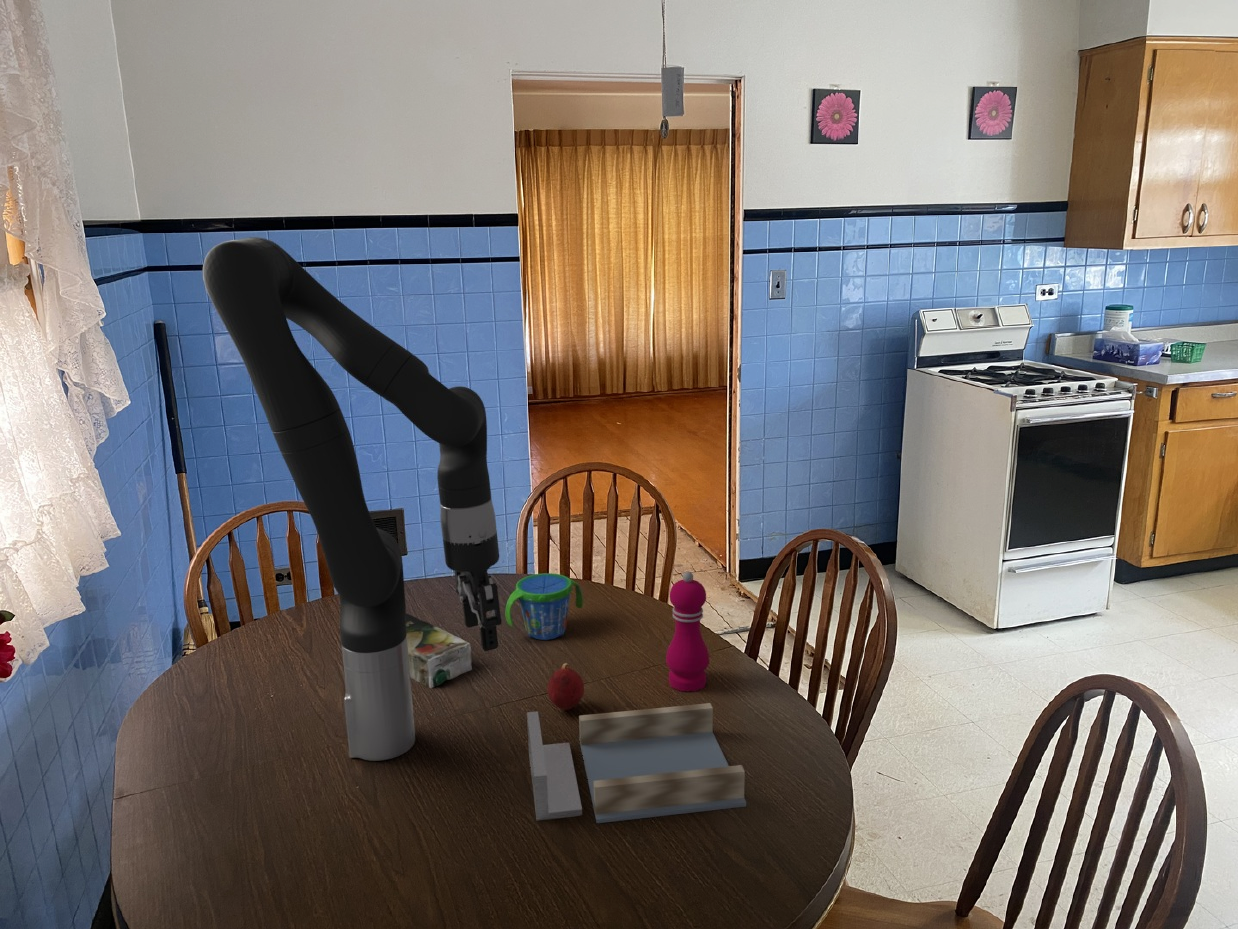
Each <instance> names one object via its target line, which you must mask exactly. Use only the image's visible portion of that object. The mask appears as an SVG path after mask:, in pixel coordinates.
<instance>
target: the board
mask: <svg viewBox="0 0 1238 929" xmlns="http://www.w3.org/2000/svg"><path fill="white" fill-rule="evenodd" d="M578 740H579V741H580V735H579V736H578ZM579 745H580V749H581V750H580V751H581V756H582V755H583V756H582V759H583V760H584V761H583V760H582V761H583V764H584V765H583V766H584V769H585V773H586V779H588V780H587V785H588V788H589V793H590V799H591V802H592V808H593V812H594V816H595V821H596V822H595V823H596V824H603V823H610V822H620V821H629V820H638V819H647V818H653V817H655V818H656V817H665V816H672V815H681V814H691V813H700V812H709V811H715V810H716V811H717V810H727V809H732V808H733V809H734V808H743V807H747V801H746V799H745V797H744V798H738V799H729V800H720V801H711V802H702V803H694V804H685V805H676V806H667V807H658V808H649V809H640V810H631V811H623V812H614V813H605V814H595V810H594V785H593V781H597V780H606V779H615V778H625V777H634V776H643V775H653V774H662V773H671V772H681V771H690V770H699V769H709V768H718V767H727V766H730V764H729V763H728V762H727V759H726V757H725V755H724V753H723V751H722V749H721V747H720V745H719V743H718V741H717V738H716V736H715V734H714V732H706V733H696V734H687V735H677V736H667V737H657V738H647V739H637V740H627V741H617V742H607V743H597V744H587V745H581V743H580V742H579Z"/></svg>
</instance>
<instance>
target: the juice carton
mask: <svg viewBox="0 0 1238 929" xmlns="http://www.w3.org/2000/svg"><path fill="white" fill-rule="evenodd" d="M406 632H407V644H408V656H409V668H410V679H412V680H414V681H416V682H418V683H419V684H422V685H424V686H425V687H426V688H430V689H433V688H435V687H437V686H440V685H442V684H443V683H444V682H445V681H448V680H450V681H451V680H453V679H455V678H457V677H458V676H459V675H462V674H464V673H467V672H470V671H472V670H473V667H472V652H471V651H472V650H471V649H472V648H471V647H472V646H471V642H467V640H464V639H462V638H461V637H459V636H456V635H455V634H453V633H450V632H448V631H447V630H445V629H443V628H440V627H439V626H436V625H434V624H431V623H430V622H427V621H424V620H422V619H421V618H420V619H419V618H418V617H415V616H413V615H412V614H409V613H406Z"/></svg>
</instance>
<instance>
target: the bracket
mask: <svg viewBox="0 0 1238 929" xmlns="http://www.w3.org/2000/svg"><path fill="white" fill-rule="evenodd" d="M526 720H527V722H526V723H527V724H526V725H527V737H528V738H527V740H528V742H527V744H528V756H529V767H531V768H530V775H531V784H532V793H533V801H534V810H535V819H536V821H545V820H554V819H555V820H556V819H562V818H563V819H564V818H570V817H571V818H572V817H578V816H579V817H581V816H583V807H582V802H581V796H580V792H579V787H578V781H577V775H576V771H575V766H574V760H573V755H572V750H571V745H570V742H561V743H560V742H559V743H552V744H543V738H542V730H541V724H540V717H539V711H538V710H537V711H529V712H526Z"/></svg>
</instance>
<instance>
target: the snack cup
mask: <svg viewBox="0 0 1238 929" xmlns="http://www.w3.org/2000/svg"><path fill="white" fill-rule="evenodd" d="M573 585H574V590H575V607H577V608H578V609H582V608H583V607H584V594H583V590H582V588H581V586H580V584H578V583H577V582H576V581H574V580H572V578H569V577H567V576H565V575H563V574H559V573H554V572H552V573H548V572H546V573H543V572H542V573H535V574H531V575H527V576H525V577H522V578H520V579H519V580H518V581H517V583H516V585H515V589H514V591H513V592H512V593H511V594H510V595H509V598H508V599H507V601H506V606H505V611H504V612H505V613H504V614H505V615H504V616H505V619H506V623H507V624H508V626H510V627H514V622H513V617H512V607H513V605H514V604H515V603H516V601H517V600H518V601H519V604H520V609H521V614H522V618H523V622H524V623H523V624H524V626H525V627H524V628H525V631H526V633H527V635H528V637H530V638H533V639H536V640H540V641H542V640H543V641H549V640H553V639H556V638H558V637H562V636H563V635H564V634H565V632H566V630H567V624H568V615H569V614H568V613H569V605H570V594H571V592H572V590H573Z"/></svg>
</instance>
